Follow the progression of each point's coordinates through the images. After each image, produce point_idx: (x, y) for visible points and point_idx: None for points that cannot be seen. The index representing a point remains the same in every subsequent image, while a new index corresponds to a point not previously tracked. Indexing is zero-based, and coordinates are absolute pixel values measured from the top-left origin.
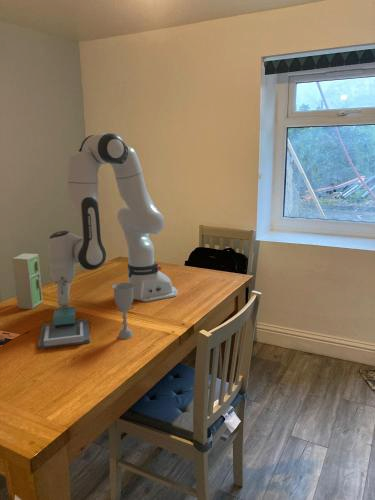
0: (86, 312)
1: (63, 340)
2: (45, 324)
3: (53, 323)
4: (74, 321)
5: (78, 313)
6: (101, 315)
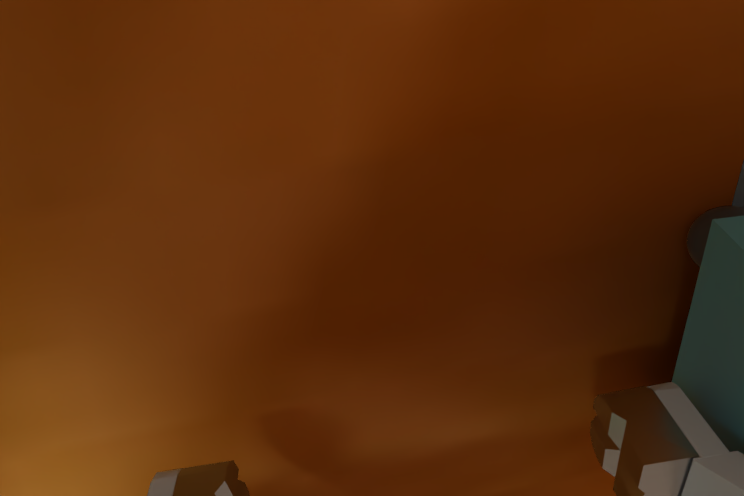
0: (418, 8)
1: None
2: None
3: None
4: None
5: (443, 176)
6: None
